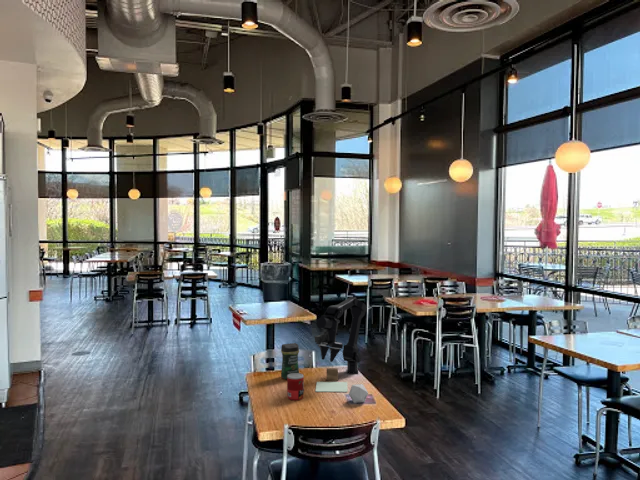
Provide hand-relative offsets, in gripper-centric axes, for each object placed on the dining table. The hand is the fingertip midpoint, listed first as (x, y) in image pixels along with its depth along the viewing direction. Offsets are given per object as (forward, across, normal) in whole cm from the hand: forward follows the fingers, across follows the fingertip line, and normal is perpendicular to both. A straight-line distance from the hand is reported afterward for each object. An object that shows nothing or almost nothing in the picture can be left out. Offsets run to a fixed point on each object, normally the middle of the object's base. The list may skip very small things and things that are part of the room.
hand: (326, 360), depth 244 cm
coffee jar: (+13, -21, -9) cm, 26 cm away
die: (+15, +26, +6) cm, 31 cm away
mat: (+13, +3, +3) cm, 13 cm away
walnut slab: (+10, -6, +8) cm, 14 cm away
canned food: (+19, +8, -18) cm, 27 cm away
